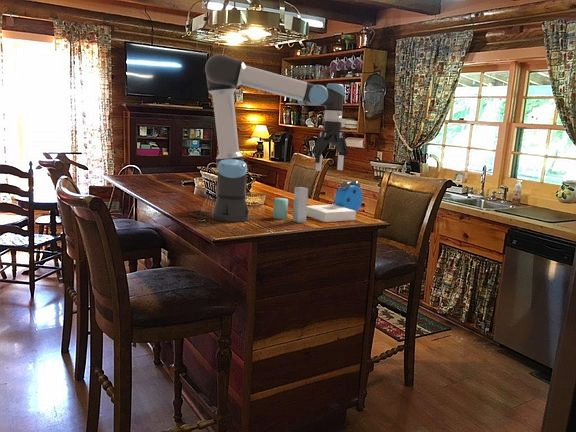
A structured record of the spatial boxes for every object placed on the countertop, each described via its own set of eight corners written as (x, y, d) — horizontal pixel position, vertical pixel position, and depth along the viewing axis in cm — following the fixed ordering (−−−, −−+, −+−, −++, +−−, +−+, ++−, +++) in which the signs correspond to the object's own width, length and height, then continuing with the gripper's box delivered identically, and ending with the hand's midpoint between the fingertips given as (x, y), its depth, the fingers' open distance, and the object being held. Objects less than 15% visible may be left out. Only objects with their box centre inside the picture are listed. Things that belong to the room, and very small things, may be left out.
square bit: (297, 222, 201) (299, 188, 198) (292, 220, 204) (294, 187, 202) (305, 222, 203) (308, 188, 200) (300, 220, 206) (302, 187, 204)
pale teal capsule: (277, 219, 205) (278, 200, 204) (270, 216, 210) (271, 198, 209) (289, 218, 208) (290, 200, 207) (282, 216, 213) (283, 197, 212)
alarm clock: (352, 211, 235) (354, 179, 232) (362, 213, 230) (364, 181, 228) (333, 213, 226) (335, 180, 224) (343, 215, 222) (345, 182, 219)
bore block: (324, 222, 205) (325, 212, 205) (304, 214, 219) (304, 205, 218) (355, 220, 213) (356, 210, 213) (333, 213, 227) (334, 204, 226)
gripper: (318, 120, 202) (314, 172, 206) (358, 122, 218) (354, 170, 222) (305, 119, 207) (302, 170, 211) (346, 121, 223) (342, 168, 227)
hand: (329, 170), depth 217 cm, fingers open, 13 cm apart
